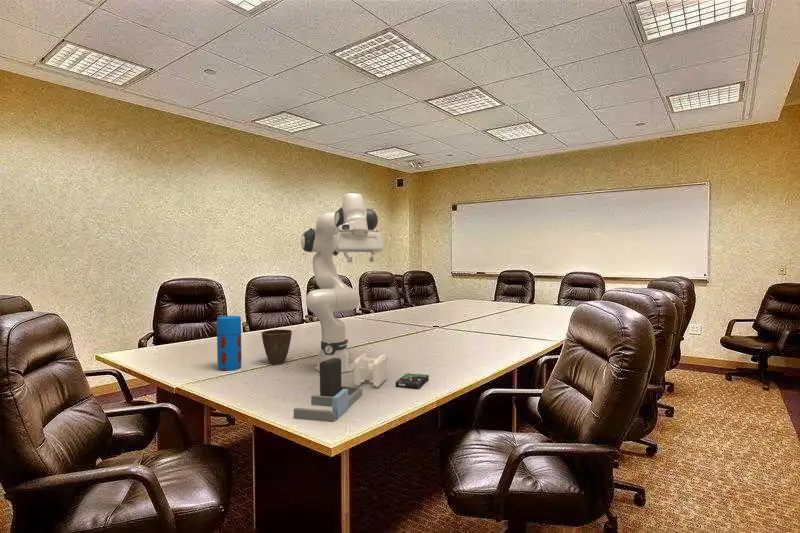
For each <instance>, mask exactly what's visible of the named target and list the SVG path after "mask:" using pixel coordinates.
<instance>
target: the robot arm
mask: <svg viewBox="0 0 800 533" xmlns="http://www.w3.org/2000/svg"><path fill="white" fill-rule="evenodd" d="M378 218H379V217H378V215H377V213H376V211H374V209H372V208H366V206H365V201H364V198H363V195H362V194H361V193H359V192H355V191H354V192H351V191H350V192H346V193H344V195H343V197H342V204H341V207H340V208H338V210H336V211H335V212H334V211H330V212H329V211H328V212H325V213H323V214H321V215H320V216H319V217H318V218H317V220H316V222H315V228H312V227H310V228H309V230H306V231H304V233H302V235H301V238H300V246H301V248H302V250H303V251H304V252H306V253H314V256H313V257H312V270H313V271H312V272H313V275H314V278H315V282H316V285H317V286H318V289H314V290H310V291H309V292H308V293H307V295H306V298H305V305H306V308H307V309H308V310H309V312H311V313H313V314H314V315H315V316H316V317H317V319H318V321H319V324H320V327H321V329H320V330H321V341H320V351H319V352H318V355H317V356H318V357H317V366H315V370H317V372H319V373H320V363H321V362H322V361H325V360H329V359H332V358H340V359H341V374H342V373H343V374H344V373H348V372H349V373H350V372H354V362H355V360H354V361H353V354H352V352H351V351H350V350H349V349H348V345H347V344H349V339H348V338H346V325H345V323H344V322H343V321H342V320H341V319H339V318H336V317H335V316H334V313H335V312H348V311H351V310H354V309H357V308H358V307H359V304H360V300H361V299H360V295H359V292H358V291H357V290H356V289H354V288H352V287H351V286H348V285H347V284H346V283H344V281H342V279H341V278H340V276H339V274H338V272H337V268H336V265H335V263H334V260H333V256H334V257H336V256H338V255H339V253H343V256H344V257H345V258H346V261H347V263H348V264H349V263H352V262H353V256H350V255H349V253H371V256H370V257H369V263H374V262H375V256H376V254H377V253H381V252H382V251H383V250H384V248H385V245H384V242H383V238H382V237H383V236H382V232H381V231H379V230H377V229H376V228H377V227H378V223H379V219H378Z"/></svg>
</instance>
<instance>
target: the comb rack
mask: <svg viewBox="0 0 800 533" xmlns="http://www.w3.org/2000/svg"><path fill="white" fill-rule="evenodd" d="M362 395H363V387H360V386H356V385H355V386H352V385H341V391H340V392H339V393H338V394H337V395H335V396H334V397H331V396H320V395H319V394H318V395H316V394H312V395H311V396H310V397H311V398H310V399H311V406H325V407H332V410H330V409H329V410H328V409H327V410H326V409H315V408H304V407H294V408H293V419H300V420H310V421H311V420H312V421H323V422H332V423H334V422H335V421H336V420H338V419H339V418H340V417H342V416H343V414H344V413H346V412H347V411H348V410H349V408H350V407H351V406H352V405H353V404H354V403H355V402H356V401H357V400H358V399H359V398H360V397H361V396H362Z"/></svg>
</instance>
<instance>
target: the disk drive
mask: <svg viewBox="0 0 800 533" xmlns="http://www.w3.org/2000/svg"><path fill="white" fill-rule="evenodd" d="M429 379H430V378H429V374H420V373H410V372H407V373H406V374H404V375H403V376H402V377H400V378H399V379H398V380H396V381H395V388H401V389H408V390H409V389H411V390H420V389H421V388H422V387H423V386H424V385H425V384H426V383H427V382H428V381H429Z"/></svg>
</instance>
